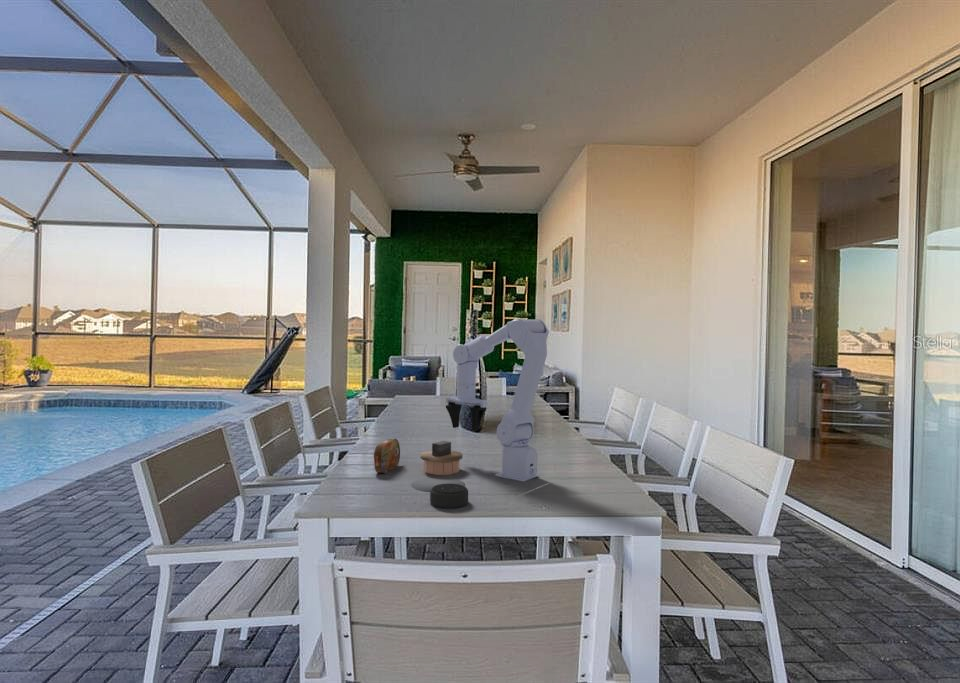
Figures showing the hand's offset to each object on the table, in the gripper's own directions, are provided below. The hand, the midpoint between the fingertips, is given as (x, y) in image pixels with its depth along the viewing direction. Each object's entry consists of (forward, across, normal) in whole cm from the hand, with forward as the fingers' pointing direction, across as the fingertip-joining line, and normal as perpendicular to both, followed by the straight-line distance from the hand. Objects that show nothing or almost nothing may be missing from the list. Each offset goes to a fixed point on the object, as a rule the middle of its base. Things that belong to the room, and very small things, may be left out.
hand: (465, 428), depth 173 cm
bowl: (+10, +1, -12) cm, 16 cm away
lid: (+6, +1, -12) cm, 14 cm away
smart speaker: (+11, +22, -34) cm, 42 cm away
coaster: (+10, +10, -24) cm, 28 cm away
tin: (+11, -12, -21) cm, 26 cm away
